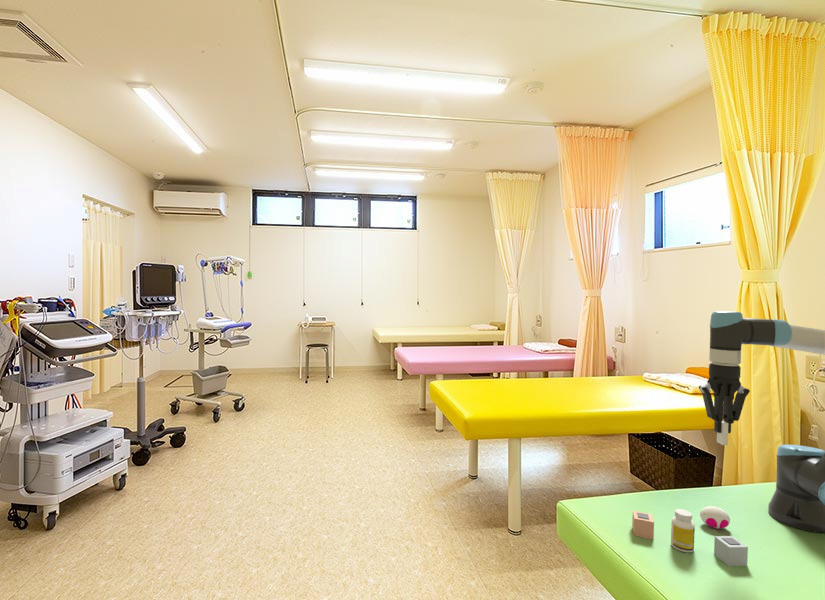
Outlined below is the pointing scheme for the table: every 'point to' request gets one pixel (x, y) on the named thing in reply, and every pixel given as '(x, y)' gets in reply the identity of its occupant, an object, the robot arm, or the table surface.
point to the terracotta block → (643, 524)
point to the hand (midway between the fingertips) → (722, 443)
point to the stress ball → (715, 517)
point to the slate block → (730, 551)
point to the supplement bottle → (682, 531)
